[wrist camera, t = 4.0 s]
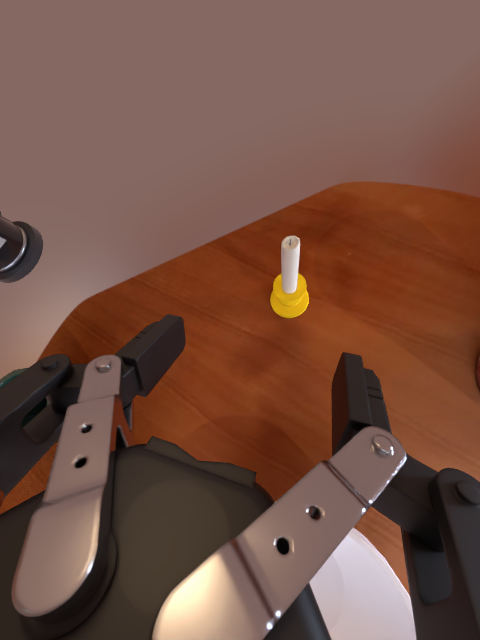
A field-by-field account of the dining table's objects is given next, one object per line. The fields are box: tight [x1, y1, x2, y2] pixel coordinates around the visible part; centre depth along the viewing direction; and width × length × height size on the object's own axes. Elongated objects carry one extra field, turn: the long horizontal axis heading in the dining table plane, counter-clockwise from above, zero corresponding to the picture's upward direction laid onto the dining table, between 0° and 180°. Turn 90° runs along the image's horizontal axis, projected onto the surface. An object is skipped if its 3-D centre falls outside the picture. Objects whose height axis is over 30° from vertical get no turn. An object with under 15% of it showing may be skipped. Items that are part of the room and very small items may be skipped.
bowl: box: [275, 501, 417, 640], centre depth 23 cm, size 20×20×7 cm
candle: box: [270, 236, 309, 318], centre depth 26 cm, size 5×5×16 cm
